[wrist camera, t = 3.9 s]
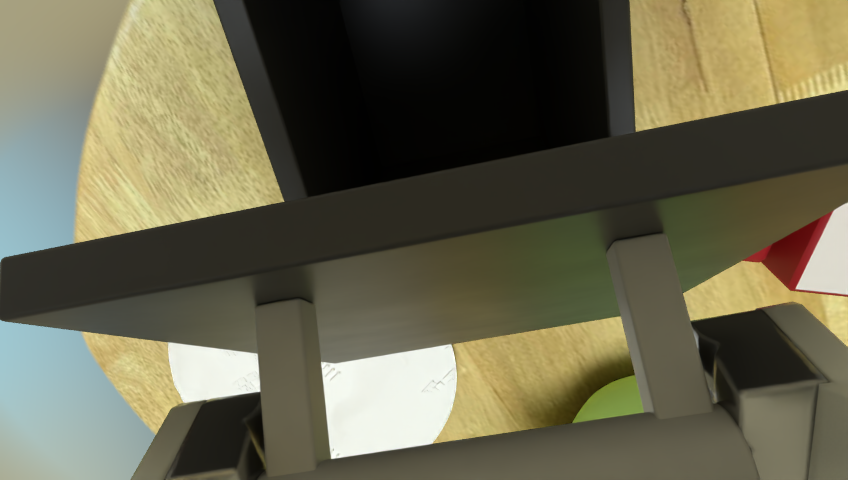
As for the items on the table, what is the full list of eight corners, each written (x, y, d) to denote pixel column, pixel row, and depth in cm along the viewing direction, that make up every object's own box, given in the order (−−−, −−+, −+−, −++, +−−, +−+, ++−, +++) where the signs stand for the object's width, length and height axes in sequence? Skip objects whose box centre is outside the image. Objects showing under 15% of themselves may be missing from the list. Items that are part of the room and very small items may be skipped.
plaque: (448, 478, 45) (448, 494, 44) (193, 466, 45) (185, 482, 44) (465, 246, 37) (466, 256, 36) (153, 232, 37) (141, 242, 36)
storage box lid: (-3, 256, 7) (-23, 696, 6) (933, 70, 6) (1148, 566, 5) (330, 340, 20) (346, 483, 19) (645, 286, 19) (684, 434, 18)
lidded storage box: (309, -58, 29) (193, -53, 14) (524, -111, 27) (623, -161, 13) (373, 177, 34) (334, 344, 20) (553, 141, 33) (644, 291, 19)
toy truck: (670, 138, 33) (722, 182, 27) (922, 168, 34) (1026, 217, 28) (642, 224, 35) (684, 281, 30) (877, 250, 36) (964, 311, 30)
